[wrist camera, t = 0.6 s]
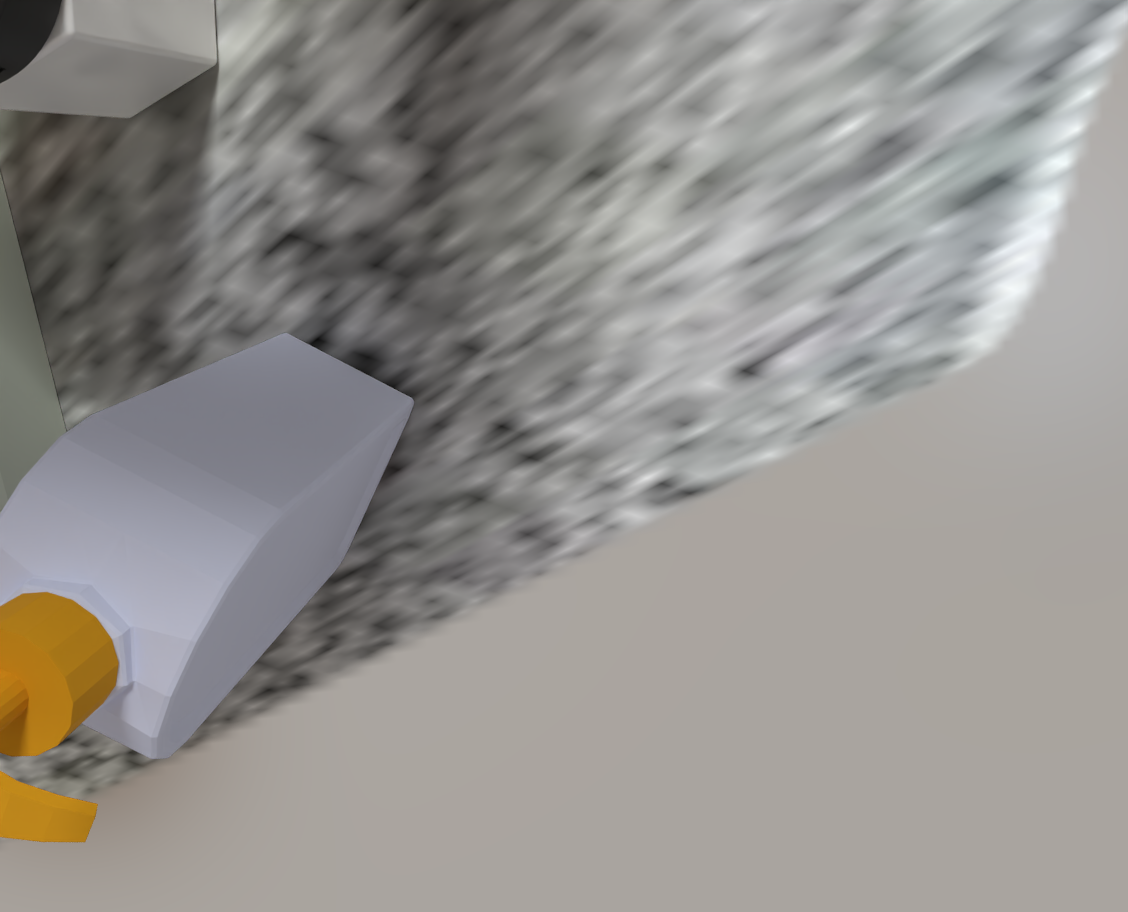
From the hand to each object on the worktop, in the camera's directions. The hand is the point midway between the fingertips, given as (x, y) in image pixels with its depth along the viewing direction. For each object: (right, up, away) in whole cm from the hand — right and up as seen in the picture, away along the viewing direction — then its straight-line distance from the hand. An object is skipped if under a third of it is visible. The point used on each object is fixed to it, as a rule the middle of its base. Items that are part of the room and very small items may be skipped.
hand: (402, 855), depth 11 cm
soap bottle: (-9, +5, +31) cm, 32 cm away
